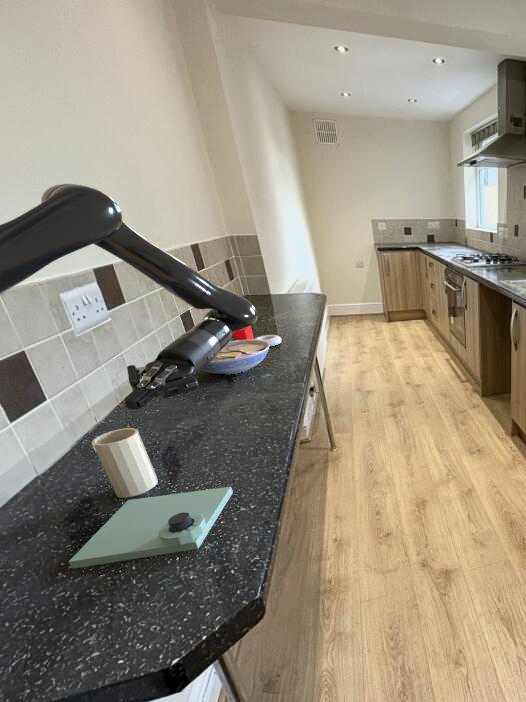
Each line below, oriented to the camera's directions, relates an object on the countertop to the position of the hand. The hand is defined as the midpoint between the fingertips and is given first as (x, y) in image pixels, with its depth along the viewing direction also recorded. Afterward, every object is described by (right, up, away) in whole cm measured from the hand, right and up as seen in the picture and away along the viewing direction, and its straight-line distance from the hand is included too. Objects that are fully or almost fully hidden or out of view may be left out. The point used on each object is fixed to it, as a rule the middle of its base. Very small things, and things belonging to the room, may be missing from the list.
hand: (130, 405), depth 74 cm
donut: (-25, +19, +84) cm, 90 cm away
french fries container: (-28, +14, +74) cm, 80 cm away
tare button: (+19, -18, -11) cm, 28 cm away
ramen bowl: (-21, +8, +58) cm, 63 cm away
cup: (-1, -15, +2) cm, 16 cm away
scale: (+12, -19, -7) cm, 24 cm away
